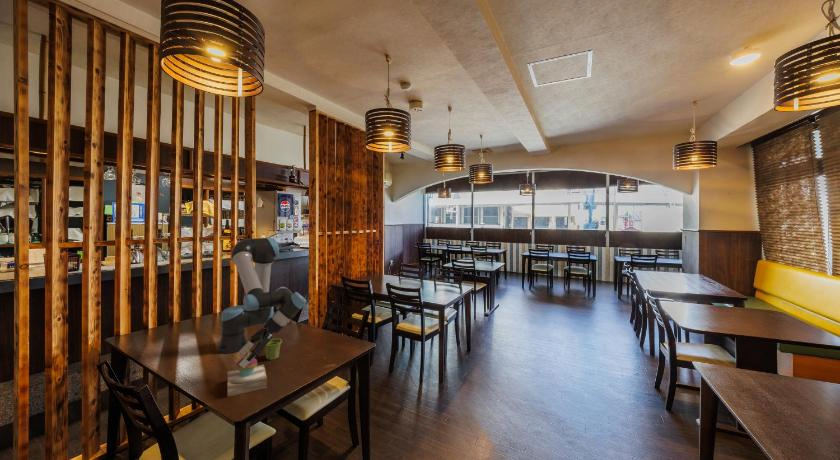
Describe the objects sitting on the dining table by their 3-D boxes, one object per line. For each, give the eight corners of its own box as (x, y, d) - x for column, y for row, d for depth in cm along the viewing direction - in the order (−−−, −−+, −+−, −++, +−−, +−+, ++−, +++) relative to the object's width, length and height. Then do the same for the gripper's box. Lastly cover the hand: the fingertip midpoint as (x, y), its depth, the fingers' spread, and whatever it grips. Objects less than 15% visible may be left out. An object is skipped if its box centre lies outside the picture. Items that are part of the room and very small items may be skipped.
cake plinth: (227, 380, 146) (227, 370, 146) (263, 373, 154) (263, 363, 154) (227, 396, 134) (227, 385, 133) (266, 387, 141) (266, 376, 141)
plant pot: (263, 362, 165) (262, 346, 164) (262, 355, 173) (262, 340, 173) (282, 359, 169) (282, 343, 169) (281, 352, 177) (281, 337, 177)
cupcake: (241, 369, 147) (241, 344, 147) (260, 369, 148) (260, 343, 147) (232, 379, 138) (232, 352, 138) (252, 378, 139) (252, 351, 139)
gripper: (287, 335, 140) (249, 376, 133) (280, 318, 161) (246, 353, 154) (274, 325, 137) (234, 367, 130) (268, 310, 159) (233, 345, 151)
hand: (241, 360), depth 142 cm, fingers open, 13 cm apart
